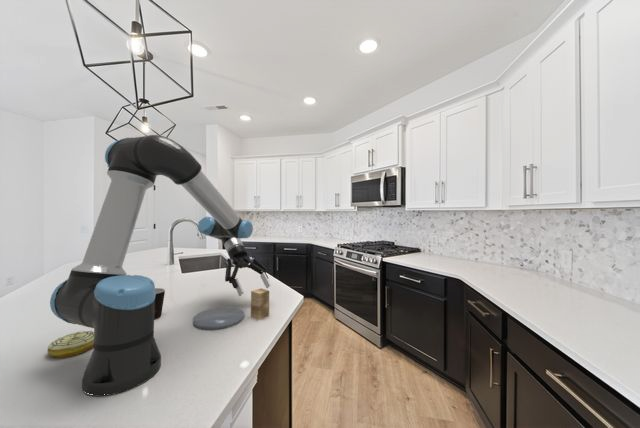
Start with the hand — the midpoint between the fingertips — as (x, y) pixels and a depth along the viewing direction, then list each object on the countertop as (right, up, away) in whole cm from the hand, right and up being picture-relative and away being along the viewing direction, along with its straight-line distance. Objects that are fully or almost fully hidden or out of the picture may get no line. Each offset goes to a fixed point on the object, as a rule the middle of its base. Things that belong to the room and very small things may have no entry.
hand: (255, 290), depth 101 cm
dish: (-12, -9, -8) cm, 17 cm away
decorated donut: (-45, -8, -30) cm, 55 cm away
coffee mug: (-40, -8, -7) cm, 41 cm away
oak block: (+3, -9, -4) cm, 10 cm away
